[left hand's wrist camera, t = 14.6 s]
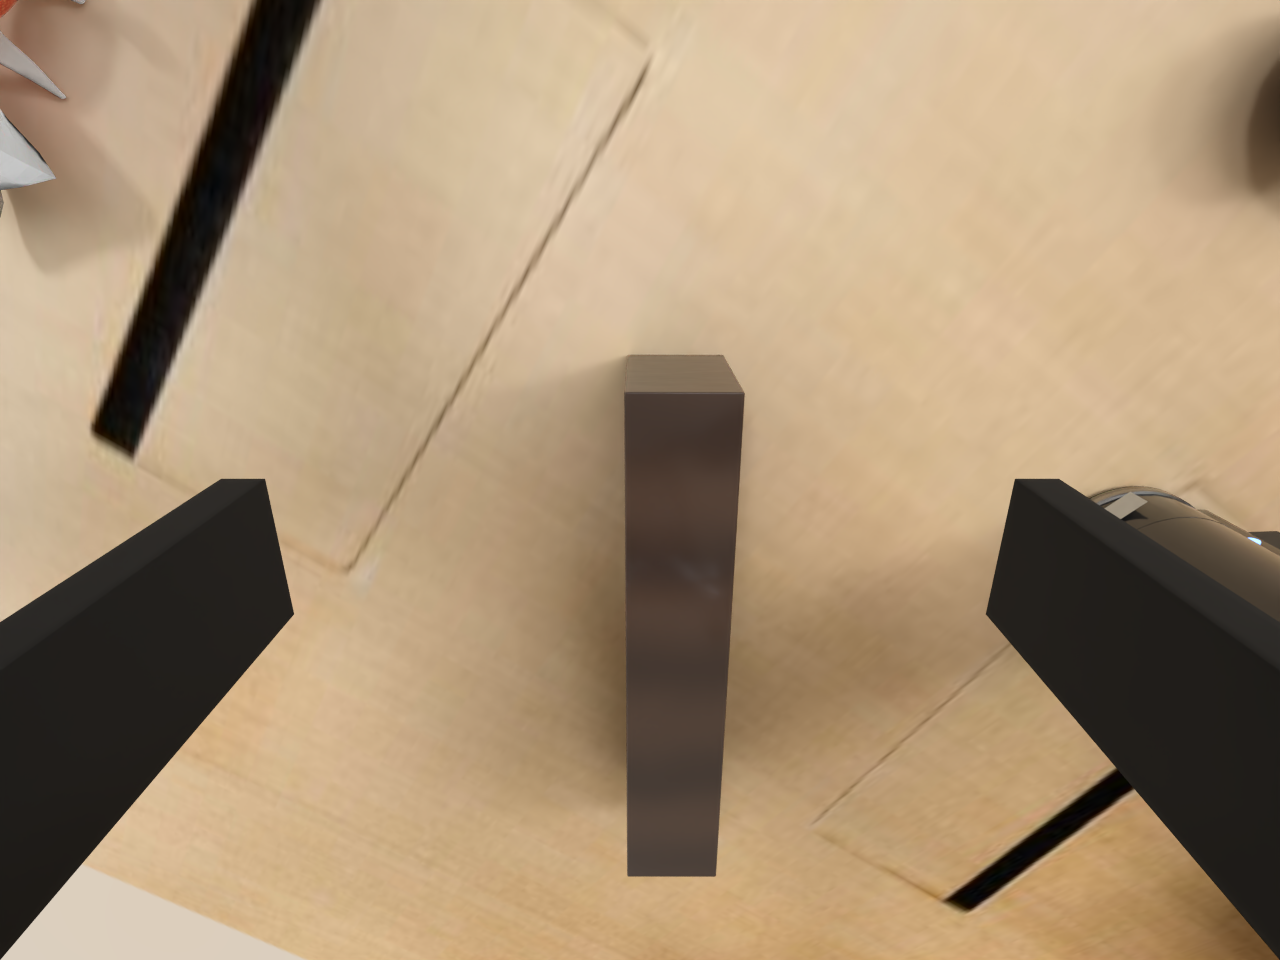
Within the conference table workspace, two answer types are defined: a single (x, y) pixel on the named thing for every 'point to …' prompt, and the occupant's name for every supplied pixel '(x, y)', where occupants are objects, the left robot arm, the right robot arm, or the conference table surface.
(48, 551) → the conference table surface
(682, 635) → the brown metal block
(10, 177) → the fish
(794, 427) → the conference table surface
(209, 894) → the conference table surface
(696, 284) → the conference table surface
